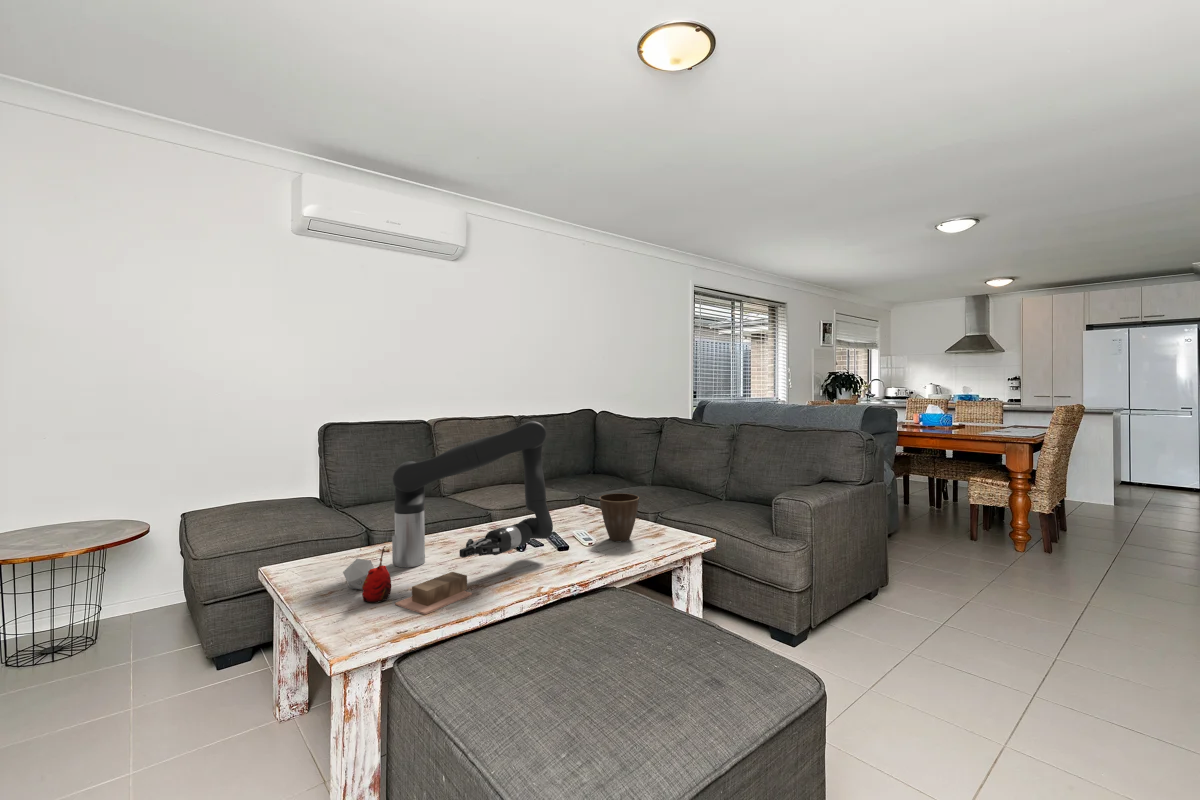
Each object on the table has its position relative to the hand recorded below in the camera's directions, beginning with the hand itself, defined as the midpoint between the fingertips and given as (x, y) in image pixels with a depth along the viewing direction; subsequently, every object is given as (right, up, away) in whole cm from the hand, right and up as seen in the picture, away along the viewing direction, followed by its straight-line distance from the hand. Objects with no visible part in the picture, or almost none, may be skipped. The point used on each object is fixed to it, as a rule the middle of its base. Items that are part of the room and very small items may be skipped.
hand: (461, 553), depth 158 cm
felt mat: (-5, -10, -8) cm, 14 cm away
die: (-30, -10, +2) cm, 31 cm away
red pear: (-21, -11, -8) cm, 25 cm away
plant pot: (+47, -9, +50) cm, 69 cm away
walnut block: (0, -7, 0) cm, 7 cm away
